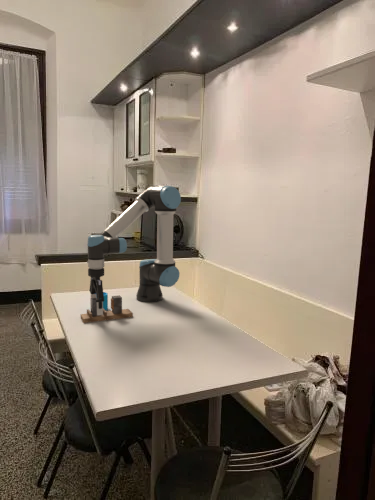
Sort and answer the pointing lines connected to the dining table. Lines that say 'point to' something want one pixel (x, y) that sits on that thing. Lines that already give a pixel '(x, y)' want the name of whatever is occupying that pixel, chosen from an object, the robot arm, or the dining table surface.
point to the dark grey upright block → (93, 307)
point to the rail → (109, 312)
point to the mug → (105, 300)
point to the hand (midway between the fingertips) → (96, 310)
